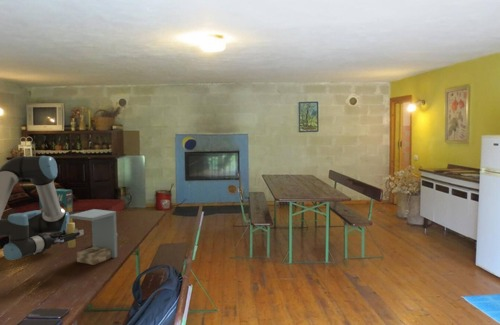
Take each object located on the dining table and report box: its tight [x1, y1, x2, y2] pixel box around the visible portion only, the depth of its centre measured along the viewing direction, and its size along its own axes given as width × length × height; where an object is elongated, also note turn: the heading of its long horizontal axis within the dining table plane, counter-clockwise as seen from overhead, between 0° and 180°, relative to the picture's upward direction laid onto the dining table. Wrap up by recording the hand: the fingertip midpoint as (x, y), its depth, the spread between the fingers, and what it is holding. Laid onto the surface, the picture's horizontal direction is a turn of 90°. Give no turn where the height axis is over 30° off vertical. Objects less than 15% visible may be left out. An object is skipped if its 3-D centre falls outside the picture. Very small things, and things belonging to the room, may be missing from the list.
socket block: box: [76, 246, 112, 266], centre depth 212 cm, size 12×12×5 cm
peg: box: [67, 222, 77, 249], centre depth 198 cm, size 4×4×12 cm
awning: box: [69, 208, 118, 259], centre depth 212 cm, size 16×17×26 cm
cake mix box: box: [38, 188, 75, 235], centre depth 264 cm, size 22×6×30 cm, turn 73°
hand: (79, 231), depth 203 cm, fingers closed on peg, 3 cm apart
